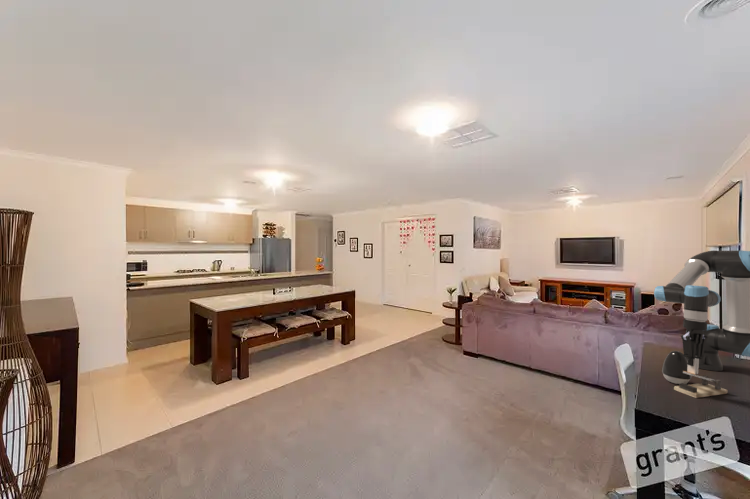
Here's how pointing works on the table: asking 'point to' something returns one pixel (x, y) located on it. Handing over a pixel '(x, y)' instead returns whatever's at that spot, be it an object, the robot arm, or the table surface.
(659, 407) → the table surface
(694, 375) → the grey flat bar
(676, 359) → the dark grey egg shape
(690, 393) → the mount
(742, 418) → the table surface
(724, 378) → the table surface
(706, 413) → the table surface
